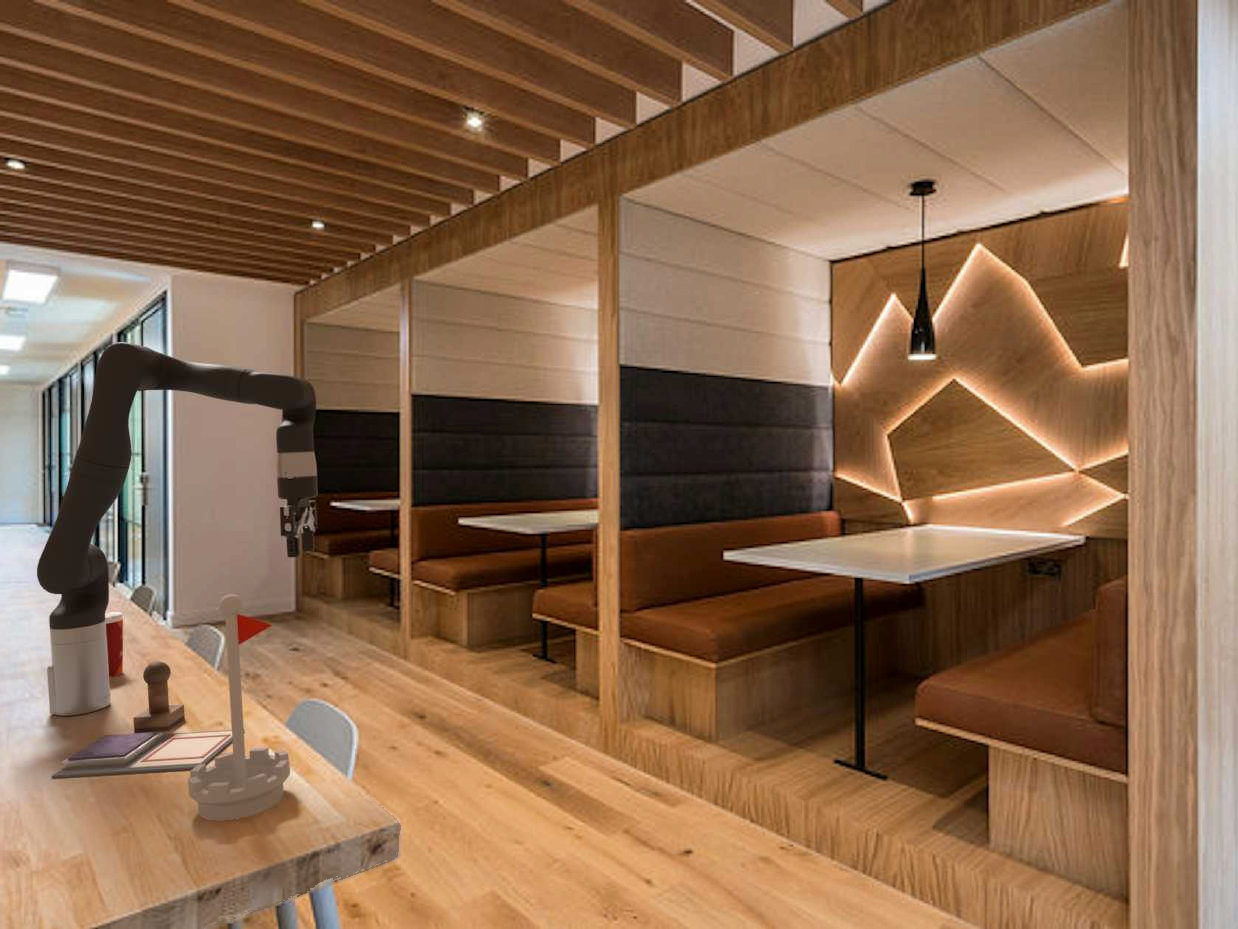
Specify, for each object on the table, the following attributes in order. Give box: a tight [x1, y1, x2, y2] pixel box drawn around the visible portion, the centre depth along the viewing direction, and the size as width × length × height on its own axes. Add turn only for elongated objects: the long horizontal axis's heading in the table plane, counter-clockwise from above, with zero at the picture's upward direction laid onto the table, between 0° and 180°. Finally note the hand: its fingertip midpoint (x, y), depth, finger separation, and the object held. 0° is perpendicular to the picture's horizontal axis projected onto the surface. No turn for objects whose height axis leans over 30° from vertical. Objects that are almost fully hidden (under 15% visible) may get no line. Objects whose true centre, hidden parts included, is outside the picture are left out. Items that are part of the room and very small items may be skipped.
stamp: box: [132, 661, 186, 734], centre depth 144 cm, size 6×6×12 cm
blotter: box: [51, 729, 233, 779], centre depth 130 cm, size 23×16×1 cm
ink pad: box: [61, 731, 163, 770], centre depth 130 cm, size 10×11×2 cm
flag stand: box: [187, 593, 291, 822], centre depth 110 cm, size 13×13×30 cm
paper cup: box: [105, 611, 125, 678], centre depth 180 cm, size 8×8×14 cm
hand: (301, 554), depth 157 cm, fingers open, 8 cm apart
